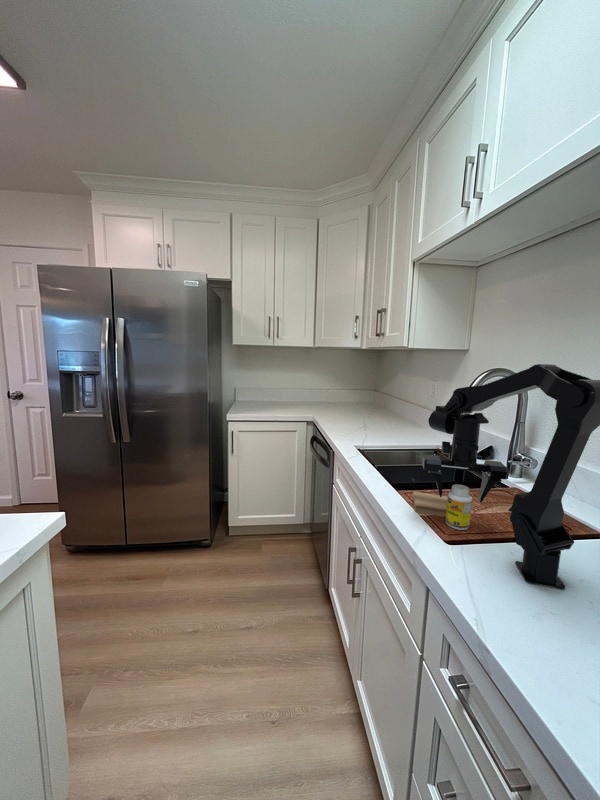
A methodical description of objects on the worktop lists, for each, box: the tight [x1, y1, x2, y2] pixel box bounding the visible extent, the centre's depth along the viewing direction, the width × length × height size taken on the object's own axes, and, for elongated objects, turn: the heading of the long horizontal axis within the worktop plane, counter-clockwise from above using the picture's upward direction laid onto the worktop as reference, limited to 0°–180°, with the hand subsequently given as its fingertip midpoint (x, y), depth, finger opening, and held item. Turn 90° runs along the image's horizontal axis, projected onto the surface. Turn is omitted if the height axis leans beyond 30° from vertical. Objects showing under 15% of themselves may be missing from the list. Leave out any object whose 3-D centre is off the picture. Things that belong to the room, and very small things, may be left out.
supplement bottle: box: [445, 483, 473, 531], centre depth 85 cm, size 6×6×10 cm
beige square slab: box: [412, 491, 448, 518], centre depth 95 cm, size 10×10×2 cm
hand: (460, 499), depth 84 cm, fingers open, 9 cm apart
